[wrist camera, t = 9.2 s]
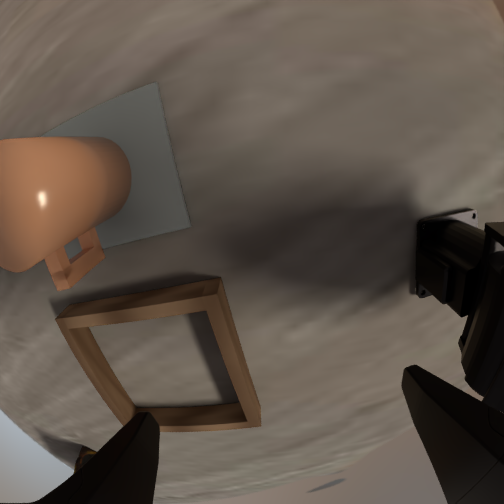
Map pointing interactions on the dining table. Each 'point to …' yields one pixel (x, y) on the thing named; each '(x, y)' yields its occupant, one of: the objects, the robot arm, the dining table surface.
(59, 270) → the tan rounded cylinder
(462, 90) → the dining table surface
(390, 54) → the dining table surface
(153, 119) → the pad
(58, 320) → the wooden picture frame
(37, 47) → the dining table surface
